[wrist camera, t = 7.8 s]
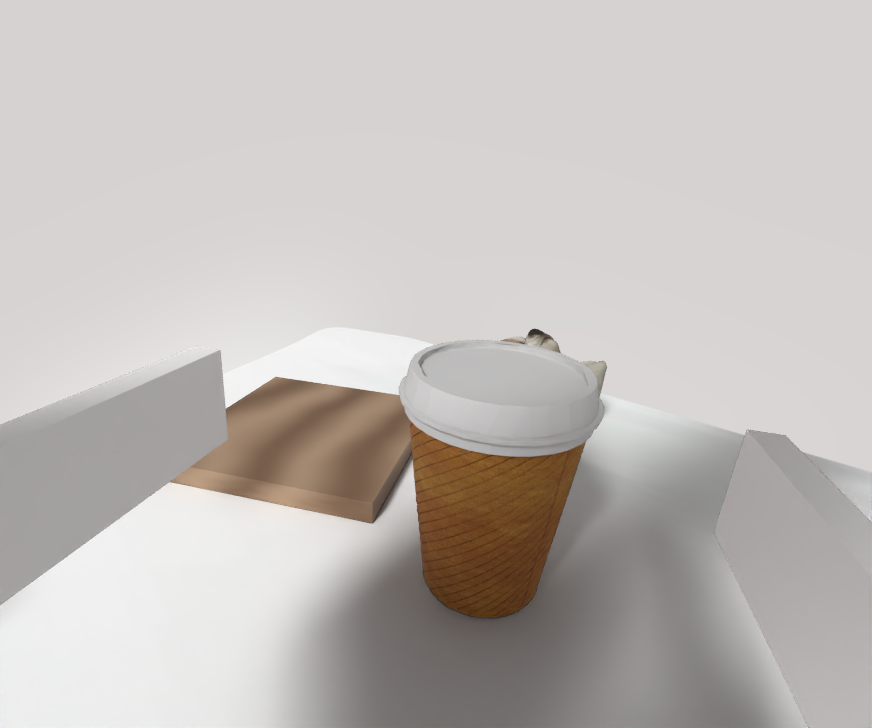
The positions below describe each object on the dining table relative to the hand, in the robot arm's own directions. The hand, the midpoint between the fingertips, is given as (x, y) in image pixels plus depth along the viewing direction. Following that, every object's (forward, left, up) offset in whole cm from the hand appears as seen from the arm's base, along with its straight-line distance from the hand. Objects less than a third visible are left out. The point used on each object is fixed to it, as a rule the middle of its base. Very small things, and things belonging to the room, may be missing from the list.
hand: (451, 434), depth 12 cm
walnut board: (+15, -21, -14) cm, 29 cm away
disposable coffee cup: (0, -11, -14) cm, 17 cm away
